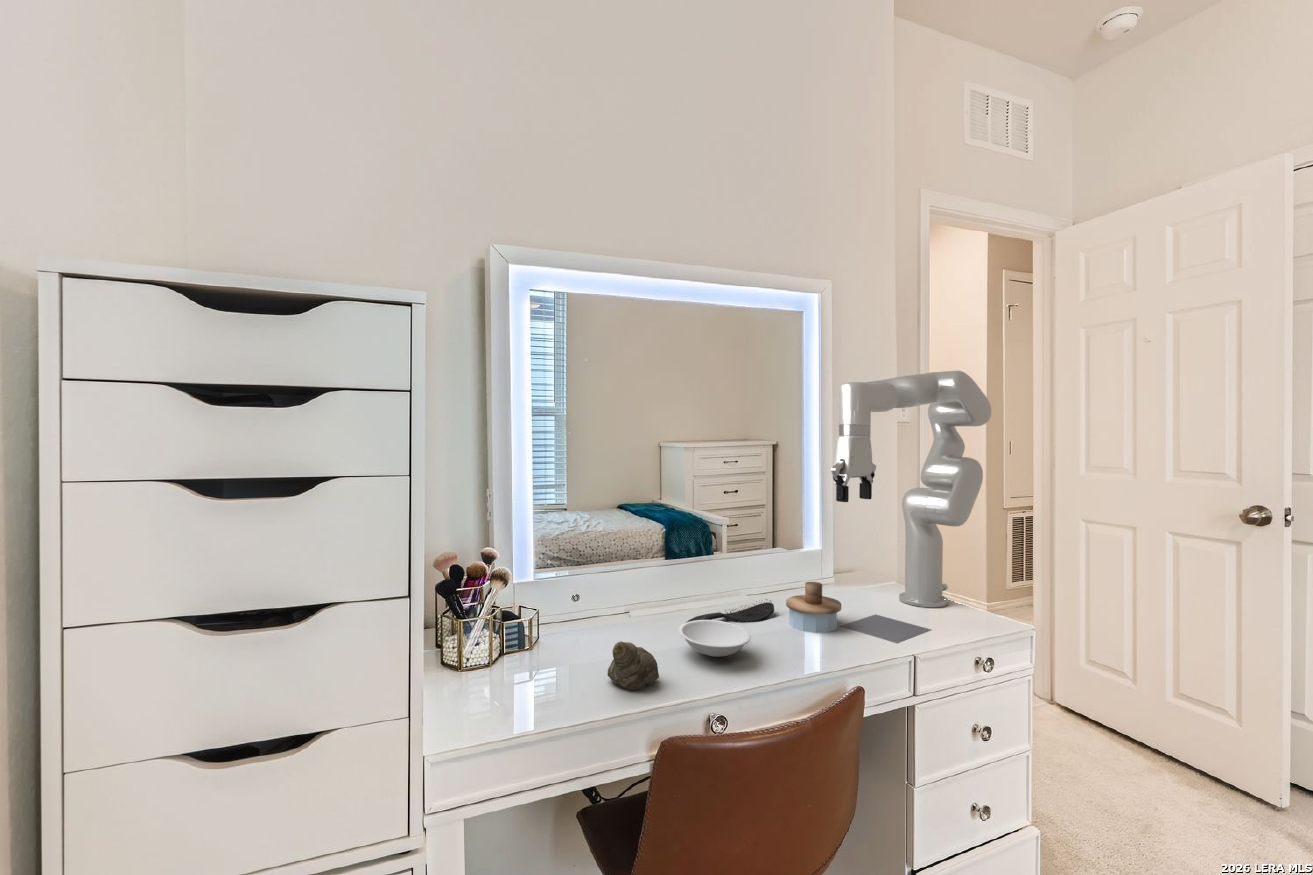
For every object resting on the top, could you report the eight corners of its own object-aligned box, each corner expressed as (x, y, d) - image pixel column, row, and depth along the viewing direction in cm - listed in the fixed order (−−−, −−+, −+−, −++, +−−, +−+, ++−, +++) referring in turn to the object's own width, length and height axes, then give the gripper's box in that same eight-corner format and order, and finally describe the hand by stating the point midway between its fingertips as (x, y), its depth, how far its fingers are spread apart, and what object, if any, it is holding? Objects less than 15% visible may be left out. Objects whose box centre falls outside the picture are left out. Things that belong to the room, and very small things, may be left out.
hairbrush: (677, 611, 155) (763, 595, 165) (678, 625, 156) (763, 609, 165) (692, 621, 148) (781, 604, 158) (693, 636, 148) (781, 618, 158)
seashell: (586, 647, 120) (602, 664, 111) (634, 608, 124) (653, 622, 115) (617, 691, 123) (635, 711, 113) (662, 651, 126) (683, 668, 117)
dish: (765, 665, 127) (765, 640, 127) (703, 676, 121) (703, 650, 121) (723, 637, 143) (723, 616, 143) (666, 646, 138) (666, 624, 137)
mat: (875, 616, 160) (875, 614, 160) (931, 631, 148) (931, 629, 148) (840, 627, 150) (840, 625, 150) (897, 645, 139) (897, 643, 139)
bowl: (809, 616, 159) (809, 597, 159) (846, 628, 150) (846, 607, 150) (780, 625, 152) (780, 605, 152) (817, 637, 143) (817, 616, 143)
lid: (808, 595, 160) (808, 574, 160) (852, 607, 150) (852, 584, 150) (775, 604, 152) (775, 582, 152) (819, 617, 142) (819, 594, 142)
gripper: (861, 431, 163) (861, 496, 164) (820, 432, 153) (820, 501, 153) (887, 431, 158) (887, 499, 158) (846, 432, 147) (846, 504, 147)
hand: (854, 500), depth 156 cm, fingers open, 9 cm apart
